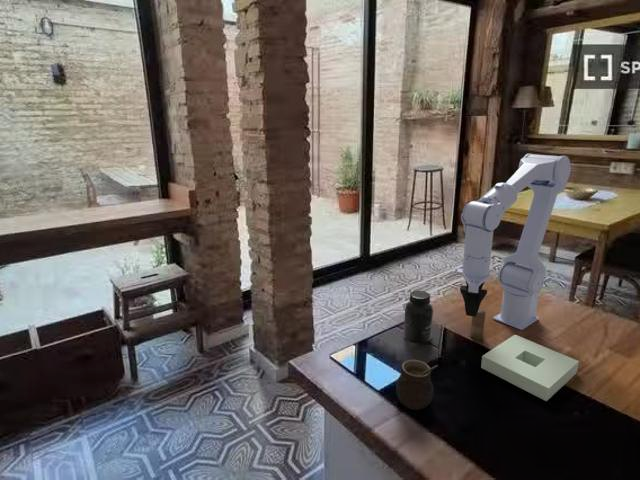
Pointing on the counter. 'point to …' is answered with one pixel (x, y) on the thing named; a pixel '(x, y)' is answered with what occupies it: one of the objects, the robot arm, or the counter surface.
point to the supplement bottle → (418, 318)
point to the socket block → (530, 366)
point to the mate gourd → (415, 384)
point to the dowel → (478, 325)
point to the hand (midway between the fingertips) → (472, 308)
